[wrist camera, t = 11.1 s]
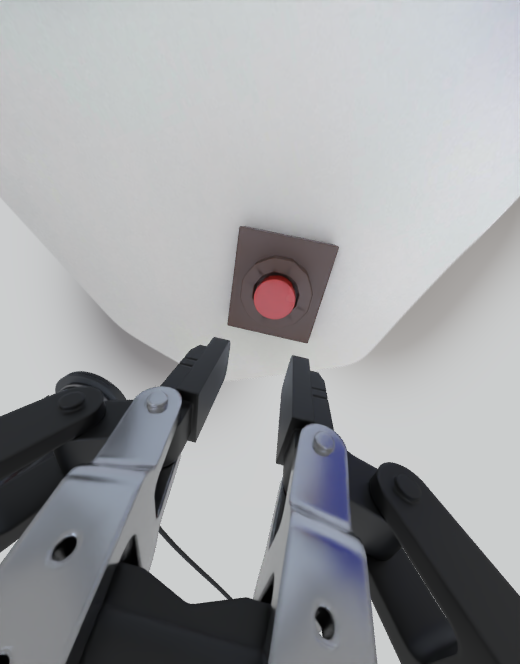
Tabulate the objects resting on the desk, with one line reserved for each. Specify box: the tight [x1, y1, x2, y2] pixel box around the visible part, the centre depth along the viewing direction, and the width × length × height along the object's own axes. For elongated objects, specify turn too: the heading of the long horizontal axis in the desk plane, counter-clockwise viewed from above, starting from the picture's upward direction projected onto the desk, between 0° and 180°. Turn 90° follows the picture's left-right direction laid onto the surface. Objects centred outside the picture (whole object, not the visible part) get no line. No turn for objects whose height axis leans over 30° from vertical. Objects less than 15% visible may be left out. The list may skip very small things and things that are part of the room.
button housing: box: [228, 226, 339, 343], centre depth 22 cm, size 10×9×4 cm
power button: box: [254, 275, 295, 319], centre depth 19 cm, size 4×4×2 cm
